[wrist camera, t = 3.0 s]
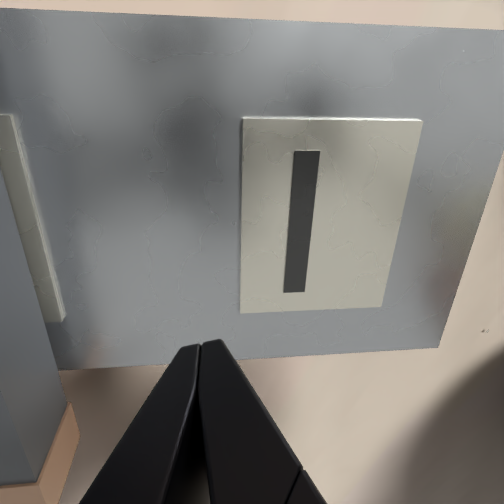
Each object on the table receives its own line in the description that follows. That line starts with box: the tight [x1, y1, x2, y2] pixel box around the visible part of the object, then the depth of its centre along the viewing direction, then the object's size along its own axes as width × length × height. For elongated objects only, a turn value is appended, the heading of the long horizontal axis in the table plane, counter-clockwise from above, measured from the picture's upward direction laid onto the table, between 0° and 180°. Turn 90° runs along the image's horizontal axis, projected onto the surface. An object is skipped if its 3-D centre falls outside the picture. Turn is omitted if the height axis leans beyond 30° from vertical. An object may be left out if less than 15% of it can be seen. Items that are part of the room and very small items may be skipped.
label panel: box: [0, 8, 504, 371], centre depth 13 cm, size 12×24×2 cm, turn 88°
